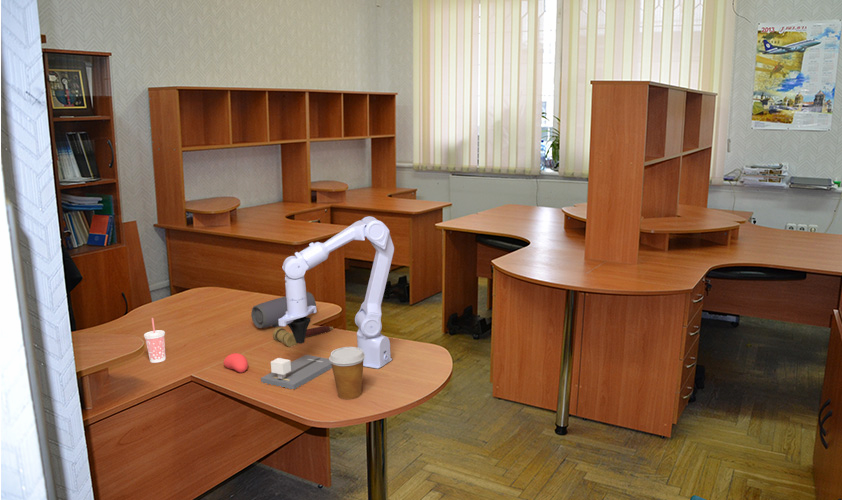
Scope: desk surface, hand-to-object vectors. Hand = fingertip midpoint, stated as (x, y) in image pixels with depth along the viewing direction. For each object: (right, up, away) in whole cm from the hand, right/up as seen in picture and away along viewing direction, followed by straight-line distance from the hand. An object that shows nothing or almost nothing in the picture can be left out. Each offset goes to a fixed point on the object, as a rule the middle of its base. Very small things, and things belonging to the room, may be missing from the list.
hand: (300, 342), depth 189 cm
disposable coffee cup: (+16, -12, -15) cm, 25 cm away
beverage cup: (-49, -8, +17) cm, 52 cm away
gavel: (-4, -3, +34) cm, 34 cm away
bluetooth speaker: (-15, 0, +49) cm, 51 cm away
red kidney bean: (-20, -9, +6) cm, 23 cm away
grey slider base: (0, -9, +1) cm, 9 cm away
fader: (-4, -9, -6) cm, 12 cm away
